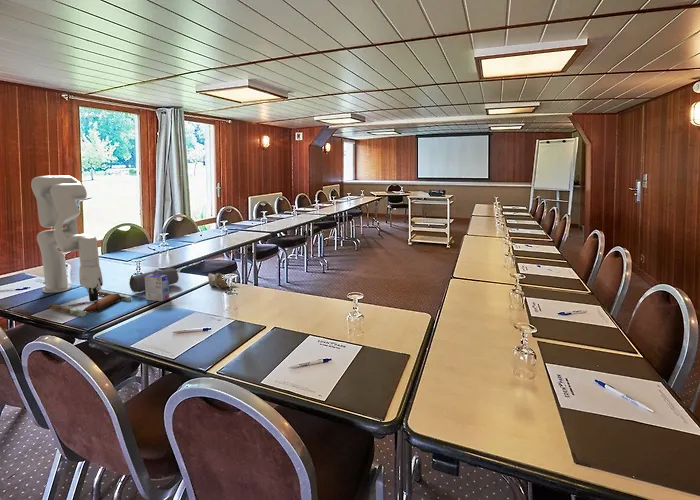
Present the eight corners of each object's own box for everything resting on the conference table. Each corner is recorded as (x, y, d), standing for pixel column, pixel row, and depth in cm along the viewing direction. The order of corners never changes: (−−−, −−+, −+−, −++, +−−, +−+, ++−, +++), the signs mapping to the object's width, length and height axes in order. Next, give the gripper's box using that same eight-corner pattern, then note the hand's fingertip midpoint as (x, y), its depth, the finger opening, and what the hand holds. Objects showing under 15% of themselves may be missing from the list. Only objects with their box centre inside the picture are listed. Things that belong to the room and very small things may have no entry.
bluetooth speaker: (170, 283, 233) (169, 266, 231) (179, 286, 228) (178, 268, 226) (129, 292, 215) (127, 274, 213) (138, 296, 210) (137, 277, 208)
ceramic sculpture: (214, 268, 233) (237, 272, 230) (214, 282, 235) (237, 286, 232) (202, 272, 223) (227, 277, 220) (202, 288, 226) (226, 292, 222)
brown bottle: (104, 299, 204) (110, 288, 203) (117, 306, 205) (123, 295, 203) (80, 312, 187) (86, 300, 185) (94, 320, 187) (100, 308, 186)
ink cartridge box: (170, 298, 208) (168, 270, 205) (163, 301, 202) (161, 273, 199) (153, 296, 210) (150, 269, 207) (145, 300, 204) (143, 271, 201)
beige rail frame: (48, 308, 190) (48, 304, 189) (98, 293, 212) (98, 290, 212) (82, 316, 181) (81, 312, 181) (131, 300, 203) (130, 296, 203)
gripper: (71, 262, 191) (75, 300, 195) (93, 266, 185) (97, 305, 189) (86, 259, 198) (90, 296, 201) (108, 263, 192) (112, 300, 196)
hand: (93, 300), depth 195 cm, fingers closed
